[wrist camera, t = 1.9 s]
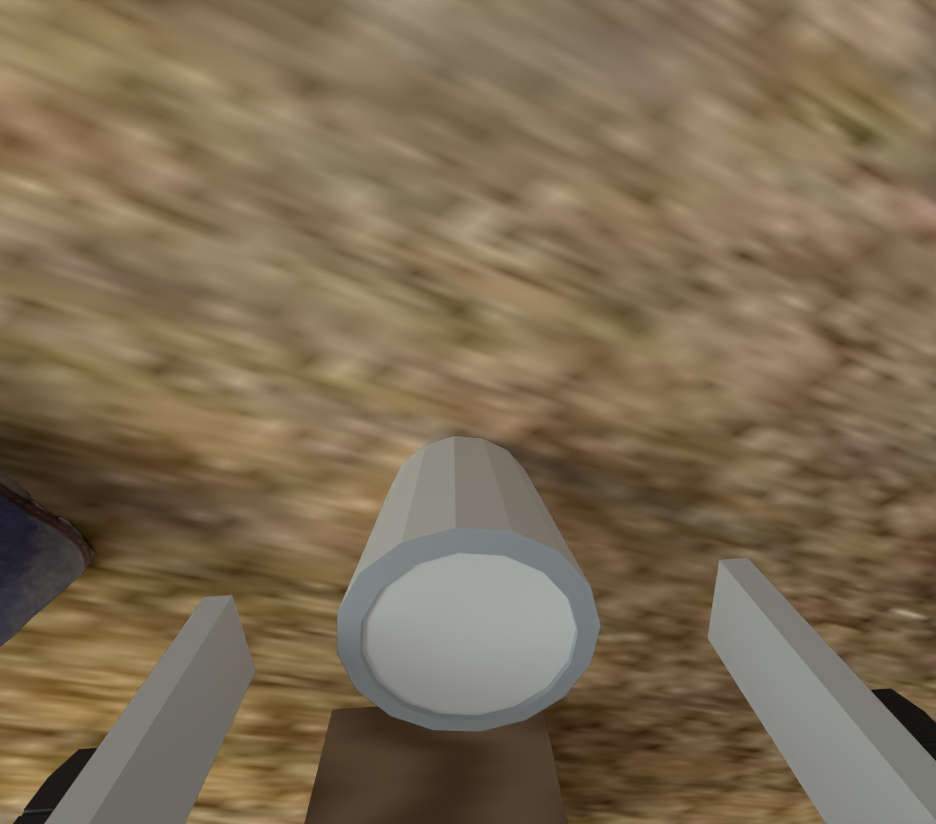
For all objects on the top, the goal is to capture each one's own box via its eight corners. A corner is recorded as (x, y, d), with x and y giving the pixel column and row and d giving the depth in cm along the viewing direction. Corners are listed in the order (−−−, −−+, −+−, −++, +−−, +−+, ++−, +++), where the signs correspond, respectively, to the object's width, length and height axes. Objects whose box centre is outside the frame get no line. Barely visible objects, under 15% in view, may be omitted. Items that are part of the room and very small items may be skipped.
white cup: (500, 388, 17) (533, 482, 10) (573, 528, 19) (640, 678, 13) (340, 470, 18) (277, 604, 11) (428, 595, 20) (419, 768, 13)
